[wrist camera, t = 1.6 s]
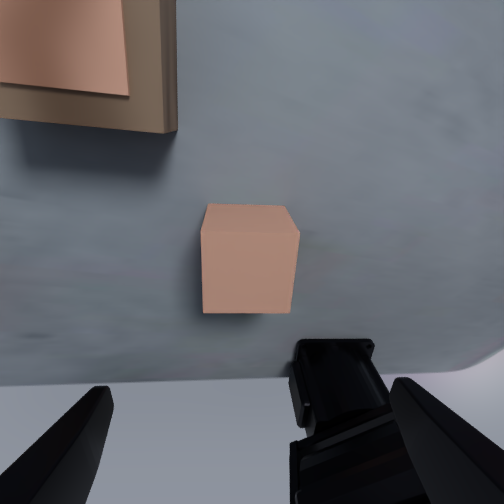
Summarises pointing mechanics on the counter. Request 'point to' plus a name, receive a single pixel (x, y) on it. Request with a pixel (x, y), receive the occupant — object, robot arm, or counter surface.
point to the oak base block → (90, 63)
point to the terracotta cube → (248, 258)
